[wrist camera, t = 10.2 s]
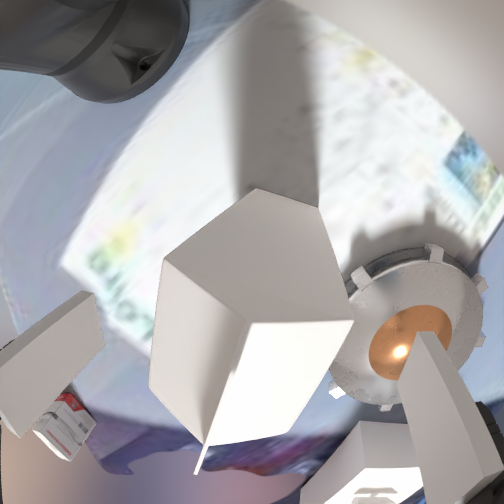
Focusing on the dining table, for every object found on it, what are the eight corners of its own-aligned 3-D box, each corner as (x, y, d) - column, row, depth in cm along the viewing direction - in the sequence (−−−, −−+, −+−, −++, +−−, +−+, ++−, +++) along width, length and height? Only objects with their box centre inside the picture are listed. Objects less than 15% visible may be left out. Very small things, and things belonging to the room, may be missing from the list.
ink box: (60, 392, 44) (29, 428, 33) (71, 392, 43) (38, 430, 32) (85, 422, 46) (59, 459, 35) (98, 423, 45) (71, 462, 34)
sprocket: (295, 284, 27) (293, 323, 21) (476, 223, 22) (515, 244, 16) (338, 414, 32) (341, 456, 25) (476, 366, 27) (496, 400, 20)
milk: (318, 207, 26) (386, 394, 5) (297, 267, 28) (284, 499, 7) (254, 186, 26) (99, 304, 5) (236, 248, 28) (112, 444, 7)
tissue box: (436, 423, 32) (452, 475, 22) (365, 490, 41) (367, 532, 31) (359, 419, 34) (366, 483, 23) (301, 487, 42) (296, 532, 32)
